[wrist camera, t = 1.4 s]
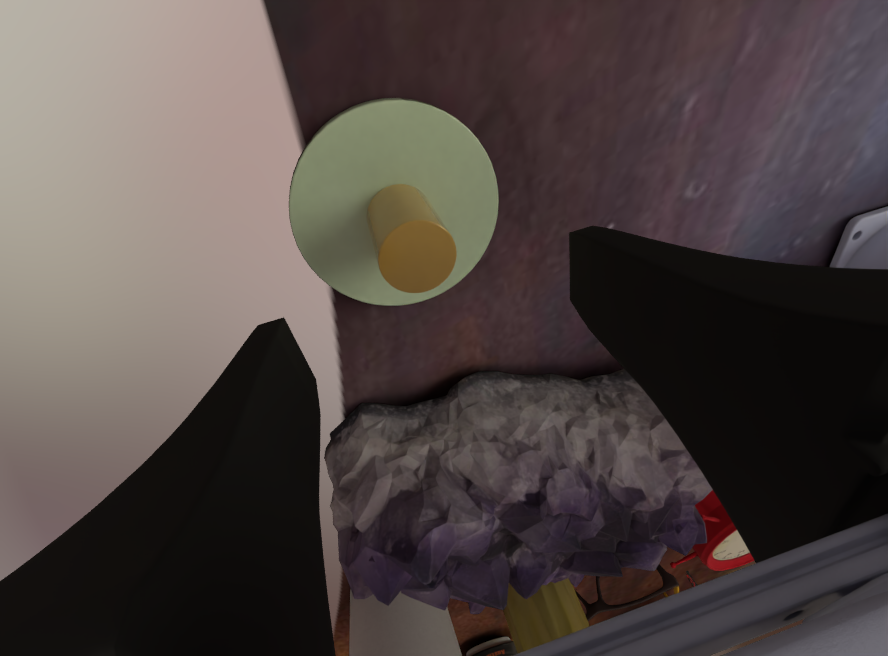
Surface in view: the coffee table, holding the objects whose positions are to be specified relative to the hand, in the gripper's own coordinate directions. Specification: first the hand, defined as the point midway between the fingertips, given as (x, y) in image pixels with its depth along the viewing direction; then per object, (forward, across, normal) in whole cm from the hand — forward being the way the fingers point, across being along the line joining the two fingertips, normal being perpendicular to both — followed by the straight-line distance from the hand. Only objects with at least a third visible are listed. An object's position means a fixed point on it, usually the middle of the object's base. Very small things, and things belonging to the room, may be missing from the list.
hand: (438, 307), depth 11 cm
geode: (+8, -2, +15) cm, 17 cm away
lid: (+7, 0, 0) cm, 7 cm away
